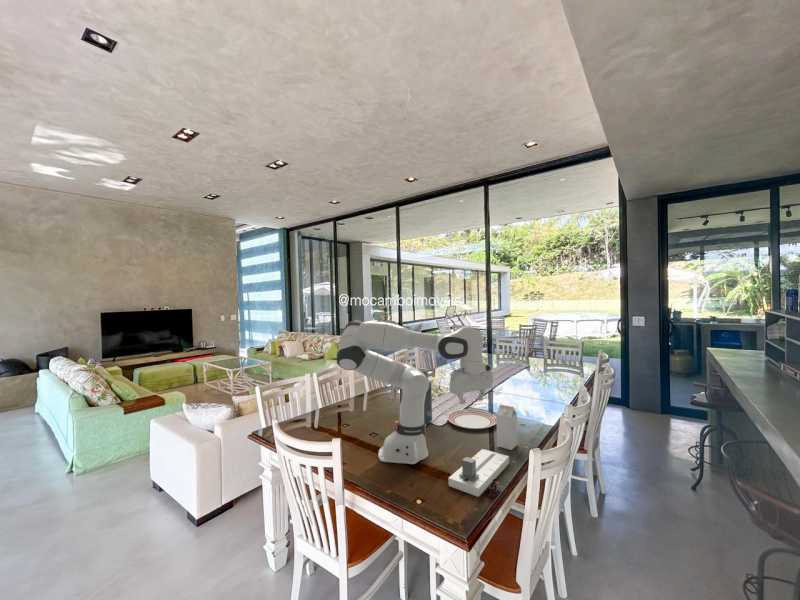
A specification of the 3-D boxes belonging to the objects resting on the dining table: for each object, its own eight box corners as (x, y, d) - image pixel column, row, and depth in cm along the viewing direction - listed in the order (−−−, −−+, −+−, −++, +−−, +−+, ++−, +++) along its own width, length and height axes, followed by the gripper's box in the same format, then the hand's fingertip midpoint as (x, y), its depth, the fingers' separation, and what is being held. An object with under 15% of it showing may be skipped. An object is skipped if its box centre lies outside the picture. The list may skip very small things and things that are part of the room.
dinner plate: (499, 434, 174) (499, 428, 174) (446, 431, 179) (446, 425, 179) (495, 416, 200) (495, 410, 200) (449, 413, 206) (449, 408, 206)
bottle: (425, 425, 188) (424, 371, 188) (411, 420, 194) (410, 368, 194) (435, 420, 195) (434, 368, 195) (421, 416, 202) (421, 366, 201)
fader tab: (474, 481, 123) (473, 464, 123) (459, 476, 127) (458, 459, 127) (479, 476, 127) (478, 459, 127) (464, 471, 130) (464, 455, 130)
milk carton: (502, 441, 165) (502, 402, 165) (517, 445, 160) (516, 405, 160) (496, 446, 159) (496, 406, 159) (511, 450, 155) (511, 409, 155)
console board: (478, 497, 119) (478, 488, 119) (448, 485, 126) (448, 477, 126) (509, 463, 143) (509, 456, 143) (482, 455, 150) (482, 448, 150)
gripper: (456, 371, 126) (456, 408, 126) (495, 365, 137) (495, 400, 137) (445, 368, 131) (445, 404, 131) (483, 363, 142) (483, 396, 142)
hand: (471, 402), depth 134 cm, fingers open, 8 cm apart
